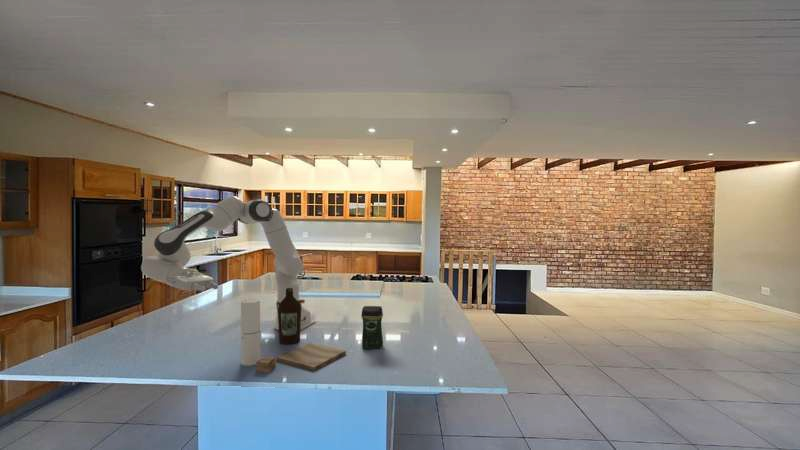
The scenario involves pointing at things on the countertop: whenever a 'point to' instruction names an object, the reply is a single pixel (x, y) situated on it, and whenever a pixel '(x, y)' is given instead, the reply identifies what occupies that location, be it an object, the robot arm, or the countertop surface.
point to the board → (311, 356)
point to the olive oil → (289, 319)
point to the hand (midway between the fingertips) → (211, 288)
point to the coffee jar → (372, 327)
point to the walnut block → (266, 364)
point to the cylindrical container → (250, 331)
